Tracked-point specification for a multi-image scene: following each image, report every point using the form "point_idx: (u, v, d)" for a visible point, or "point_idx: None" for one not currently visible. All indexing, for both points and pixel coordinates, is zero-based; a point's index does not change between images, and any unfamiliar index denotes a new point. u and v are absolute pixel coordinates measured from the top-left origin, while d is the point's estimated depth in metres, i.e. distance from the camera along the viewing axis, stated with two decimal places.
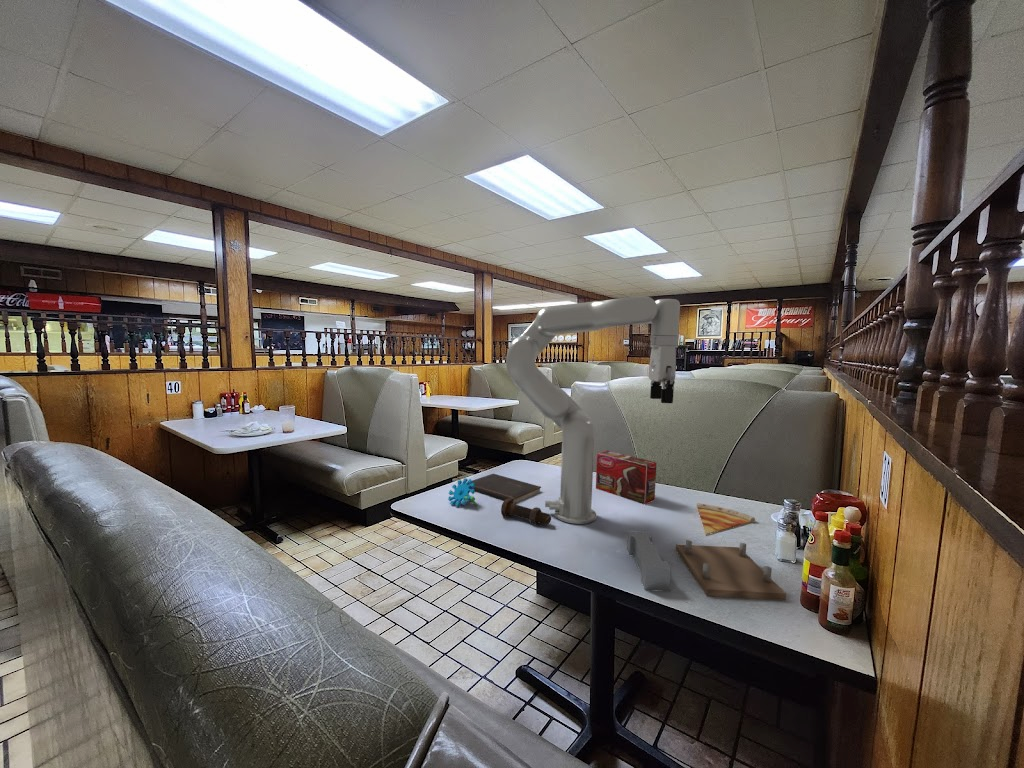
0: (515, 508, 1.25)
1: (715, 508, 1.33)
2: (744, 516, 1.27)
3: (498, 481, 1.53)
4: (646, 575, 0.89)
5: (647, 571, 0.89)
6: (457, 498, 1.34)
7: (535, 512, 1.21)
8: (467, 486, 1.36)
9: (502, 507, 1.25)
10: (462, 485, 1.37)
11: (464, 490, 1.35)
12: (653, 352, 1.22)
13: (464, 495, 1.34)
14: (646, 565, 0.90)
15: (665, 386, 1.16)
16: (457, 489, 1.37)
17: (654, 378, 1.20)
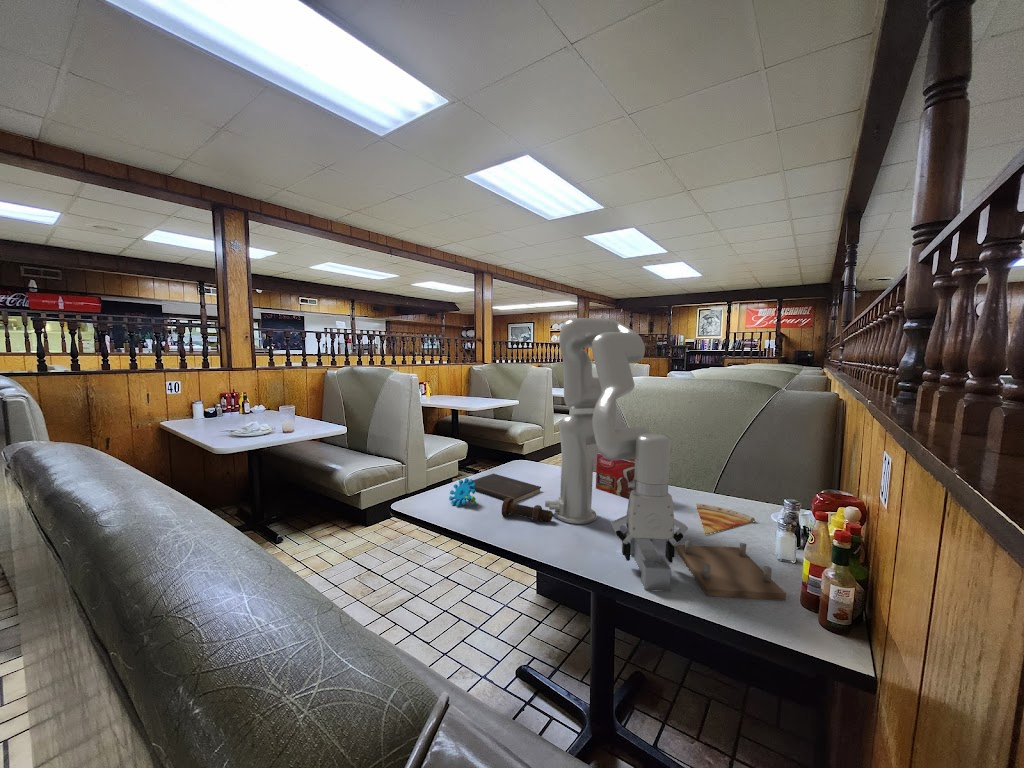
0: (516, 507, 1.25)
1: (715, 508, 1.33)
2: (744, 516, 1.27)
3: (499, 481, 1.53)
4: (646, 575, 0.89)
5: (647, 571, 0.89)
6: (458, 498, 1.35)
7: (538, 510, 1.22)
8: (468, 486, 1.36)
9: (502, 507, 1.25)
10: (463, 485, 1.37)
11: (465, 490, 1.35)
12: (650, 504, 0.94)
13: (465, 495, 1.34)
14: (646, 565, 0.90)
15: (676, 542, 0.96)
16: (458, 489, 1.37)
17: (659, 536, 0.94)
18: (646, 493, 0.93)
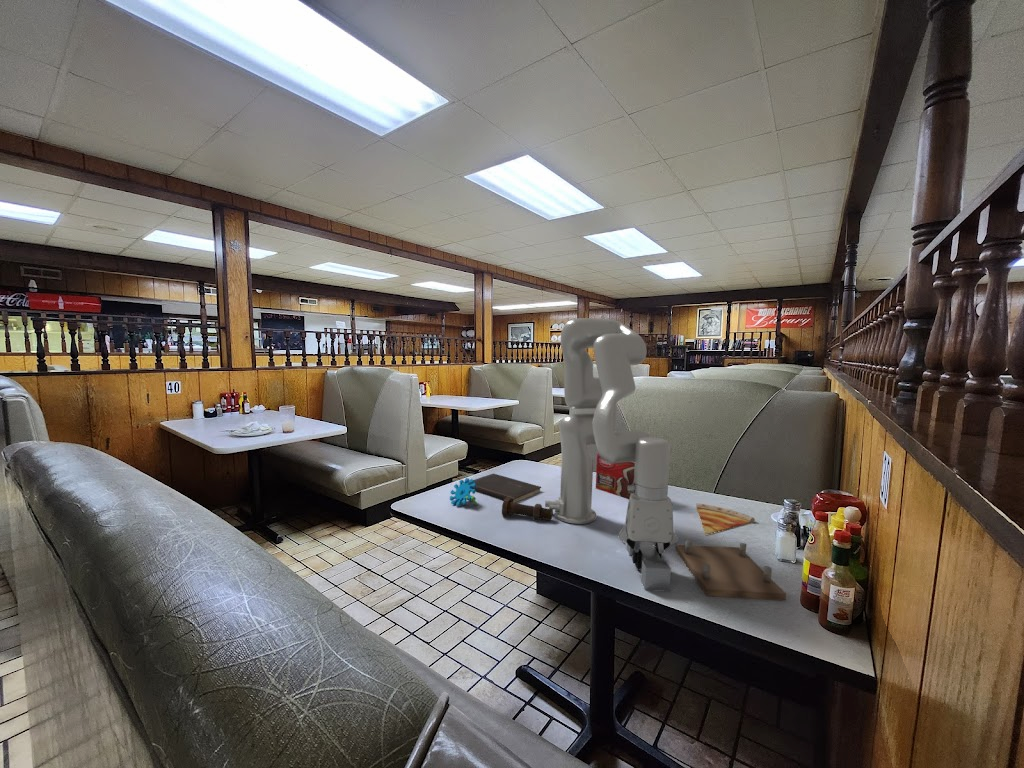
0: (516, 507, 1.26)
1: (715, 508, 1.33)
2: (744, 516, 1.27)
3: (499, 481, 1.53)
4: (646, 575, 0.89)
5: (647, 571, 0.89)
6: (458, 498, 1.35)
7: (538, 508, 1.23)
8: (468, 486, 1.36)
9: (503, 507, 1.25)
10: (463, 485, 1.37)
11: (465, 490, 1.35)
12: (650, 507, 0.94)
13: (465, 495, 1.34)
14: (646, 565, 0.90)
15: None
16: (458, 489, 1.37)
17: (658, 540, 0.95)
18: (645, 497, 0.93)
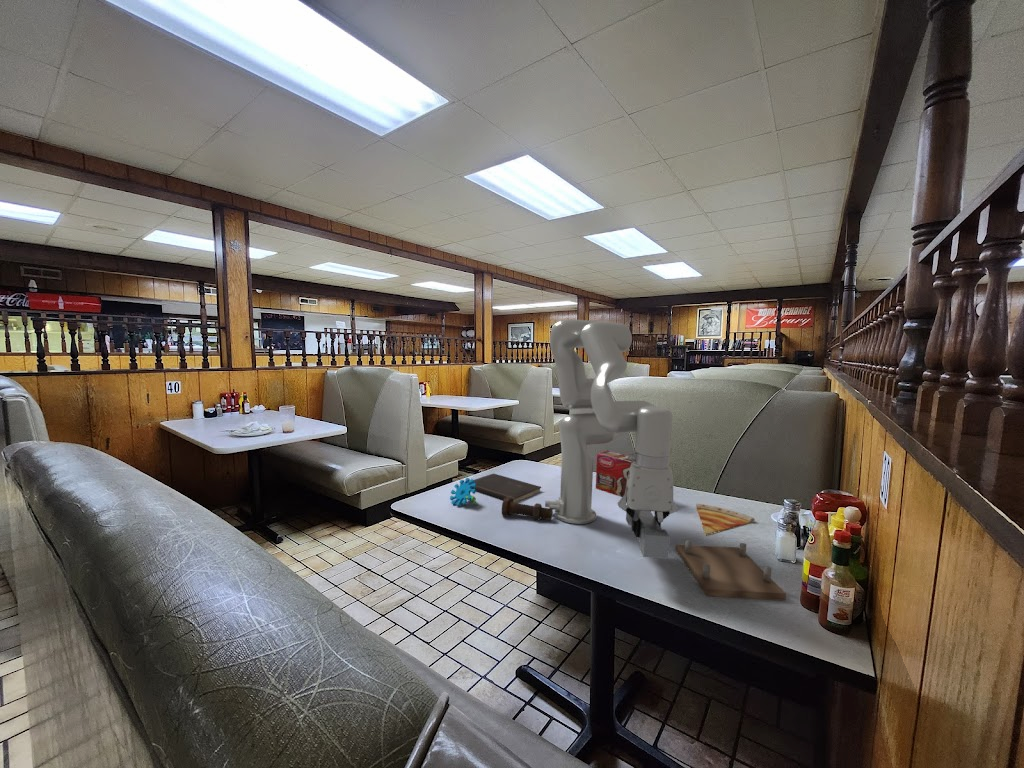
0: (516, 506, 1.26)
1: (714, 508, 1.33)
2: (744, 517, 1.27)
3: (499, 481, 1.53)
4: (645, 542, 0.89)
5: (646, 538, 0.89)
6: (458, 498, 1.35)
7: (538, 508, 1.24)
8: (469, 486, 1.36)
9: (502, 506, 1.26)
10: (464, 485, 1.37)
11: (465, 490, 1.35)
12: (650, 476, 0.94)
13: (465, 495, 1.34)
14: (645, 532, 0.90)
15: None
16: (459, 489, 1.37)
17: (658, 508, 0.95)
18: (646, 465, 0.93)
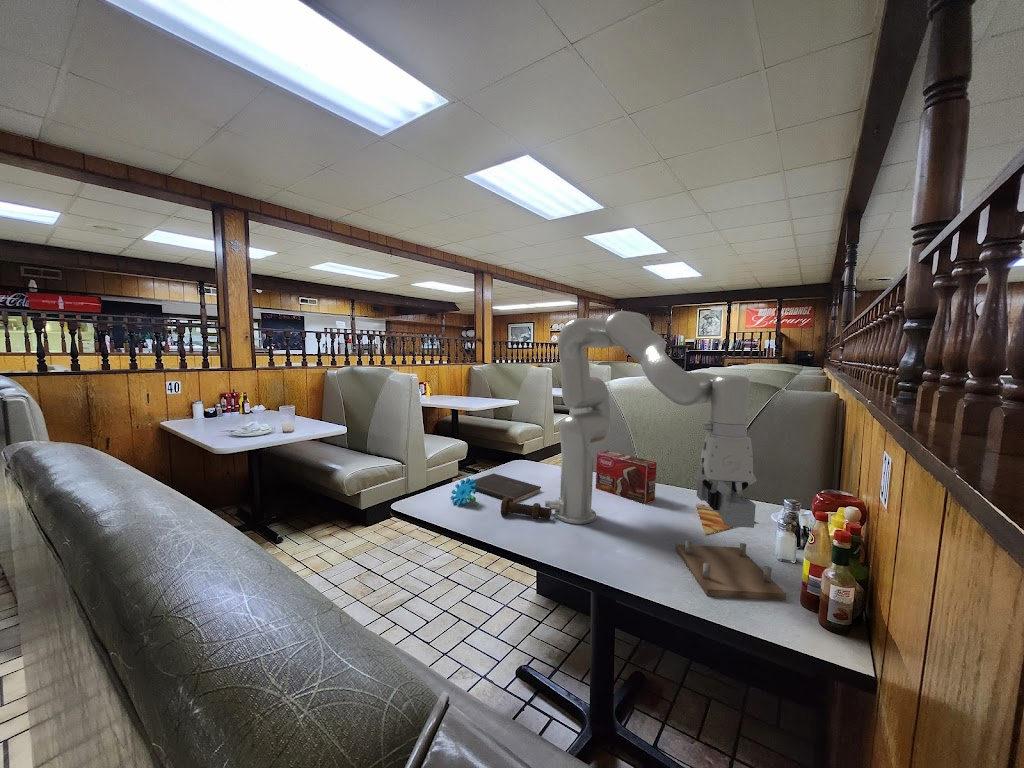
0: (515, 506, 1.26)
1: None
2: None
3: (499, 481, 1.53)
4: (730, 511, 0.87)
5: (731, 507, 0.87)
6: (459, 497, 1.35)
7: (537, 508, 1.24)
8: (469, 486, 1.36)
9: (501, 506, 1.26)
10: (464, 485, 1.38)
11: (466, 490, 1.35)
12: (729, 445, 0.92)
13: (465, 495, 1.34)
14: (729, 501, 0.87)
15: None
16: (459, 489, 1.38)
17: (738, 479, 0.92)
18: (725, 434, 0.91)
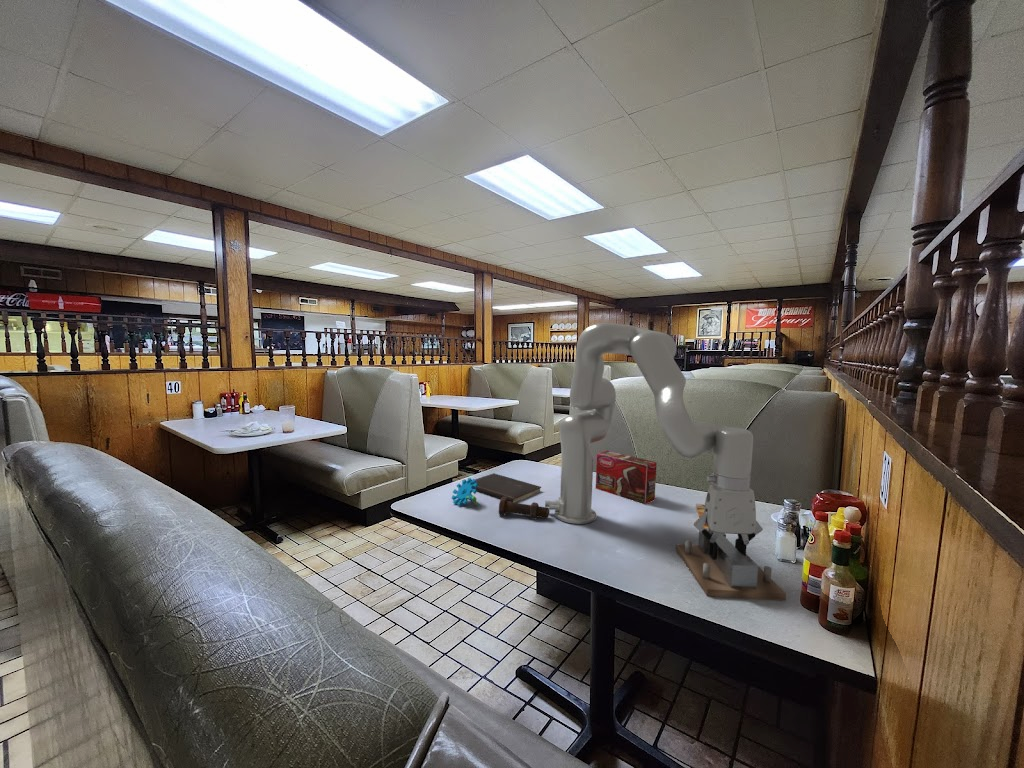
0: (513, 506, 1.26)
1: None
2: None
3: (499, 481, 1.54)
4: (733, 572, 0.88)
5: (734, 568, 0.88)
6: (460, 497, 1.35)
7: (535, 507, 1.24)
8: (470, 486, 1.36)
9: (499, 506, 1.26)
10: (466, 485, 1.38)
11: (467, 490, 1.36)
12: (733, 498, 0.93)
13: (466, 495, 1.34)
14: (732, 562, 0.89)
15: None
16: (461, 488, 1.38)
17: (741, 531, 0.93)
18: (729, 487, 0.92)
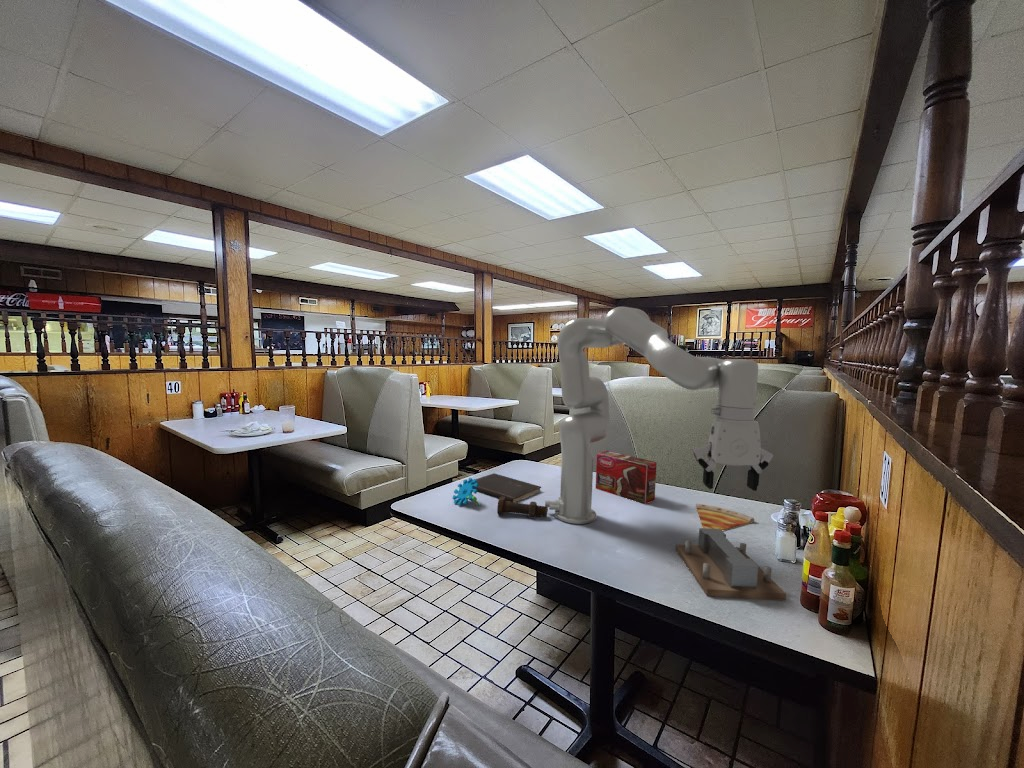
0: (511, 505, 1.27)
1: (714, 508, 1.33)
2: (743, 516, 1.27)
3: (499, 481, 1.54)
4: (733, 572, 0.88)
5: (734, 568, 0.88)
6: (460, 497, 1.35)
7: (534, 506, 1.25)
8: (471, 486, 1.36)
9: (498, 506, 1.26)
10: (466, 484, 1.38)
11: (467, 490, 1.36)
12: (737, 429, 0.91)
13: (467, 494, 1.34)
14: (732, 562, 0.89)
15: None
16: (461, 488, 1.38)
17: (745, 463, 0.92)
18: (733, 417, 0.91)
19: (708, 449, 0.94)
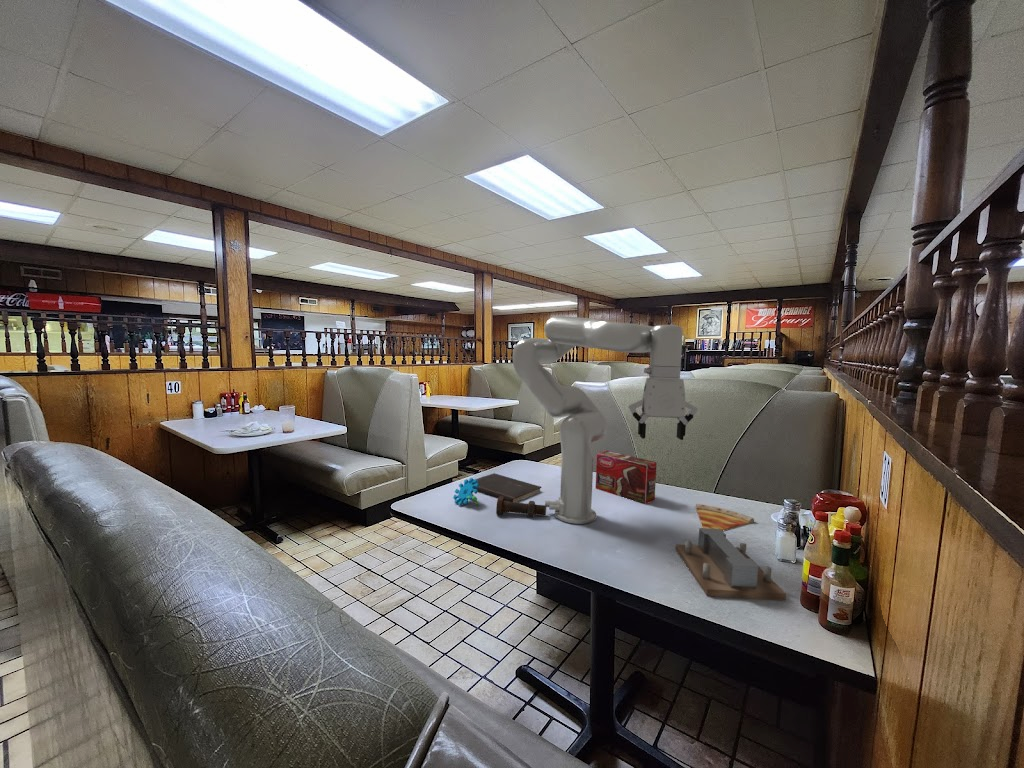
0: (510, 505, 1.27)
1: (714, 509, 1.33)
2: (743, 517, 1.27)
3: (499, 481, 1.54)
4: (733, 572, 0.88)
5: (734, 568, 0.88)
6: (461, 497, 1.35)
7: (533, 505, 1.26)
8: (471, 486, 1.36)
9: (497, 506, 1.26)
10: (467, 484, 1.38)
11: (468, 489, 1.36)
12: (664, 385, 1.05)
13: (467, 494, 1.34)
14: (732, 562, 0.89)
15: None
16: (462, 488, 1.38)
17: (672, 415, 1.06)
18: (661, 375, 1.05)
19: (641, 404, 1.08)
